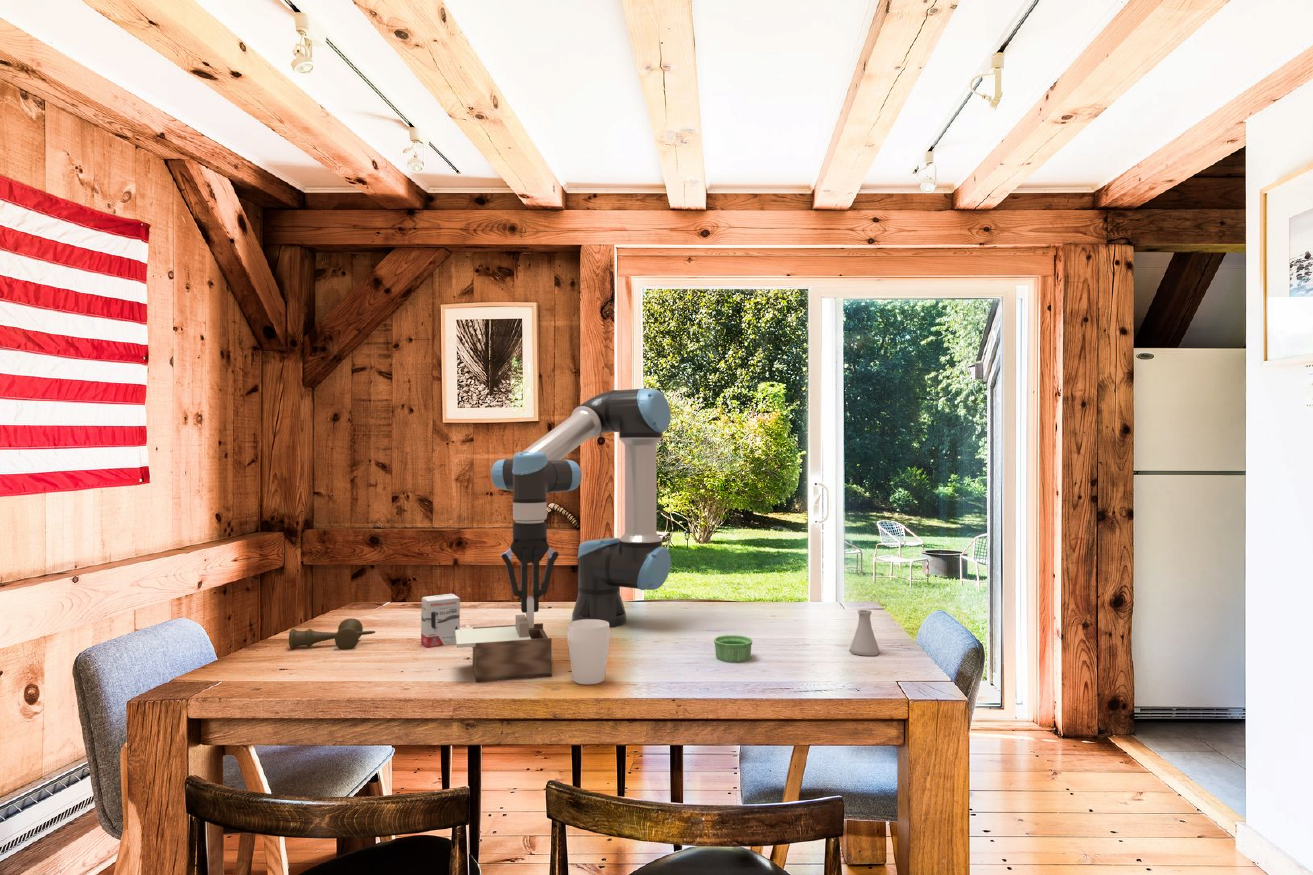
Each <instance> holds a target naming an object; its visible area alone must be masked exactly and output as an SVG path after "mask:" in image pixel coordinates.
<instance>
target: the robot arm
mask: <svg viewBox="0 0 1313 875" xmlns="http://www.w3.org/2000/svg"><path fill="white" fill-rule="evenodd" d="M671 417H672V414H671V408H670V405H669V402H668V400H667V398H666V396H665V395H664V393H663V392H661V391H660V390H658V389H654V388H634V389H633V388H632V389H631V388H630V389H620V390H619V389H612V390H607V391H604V392H601V393H599V394H597V395H595V396H593V397H590V398H589V399H588V400H586V401H584V402H582V403H581V404H579V405H578V406H577V407H576V408H574V409H573V410H572V412H571V415H570V417H568V418H567V419H565V420H564V421H563V422H561V423H560V424H558V425H557V426H556V427H554V428H552V430H550V431H549V432H548V433H546V434H545V435H542V437H540V438H539V439H537V440H536V441H535V442H533V443H532V444H531V445H529V446H528V447H526V448H525V449H524V450H522V451H520V452H516V453H515V454H514V455H513V457H512V458H510V459H509V458H503V459H499V460H496V461H495V462H494V464H493V465H492V467H491V471H490V478H491V482H492V484H493V486H494V487H496V488H497V489H499V490H504V491H510V492H512V520H514V521H515V522H513V523H512V543H511V544H510V546H509V547H510V548H509V549H508V550H506V551H505V552H501V554H500V558H502V560H503V562H504V563H505V566H506V570H507V571H506V572H507V574H508V579H509V583H510V587H511V590H512V594H513V596H514V597H518V598H520V610H521V613H523V614H525V617H526V619H527V621H528V623H529V628H534V624H535V613H538V612H539V610H540V608H539V606H540V604H539V603H540V602H539V601H540V600H539V599H540V597H542V596H543V595H544V596H545V595H547V593H548V589H549V585H550V581H551V578H552V577H551V576H552V574H553V568H554V565H555V562H556V560H557V559H558V557H559V554H560V553H559V552H558V551H557V550H555V549H552V548H551V547H550V545H549V542H548V540H547V539H548V535H547V534H548V533H547V532H548V531H547V529H548V526H547V525H548V524H547V523H546V521H545V520H547V519H548V518H547V517H548V514H547V513H548V510H547V509H548V508H547V507H548V506H547V505H548V503H547V502H548V501H547V498H548V497H547V496H548V495H547V494H548V493H567V492H570V491H574V490H576V489H577V488H578V487H579V486H580V484H581V482H582V477H583V476H582V469H581V467H580V466H579V464H578V463H577V462H576V461H574V460H571V459H563V458H565V457H566V456H568V455H569V454H570V453H572V452H573V451H575V449H577V448H578V447H579V446H580V445H582V444H583V443H584V442H585V441H587V440H588V439H589V440H591V439H594V438H597V437H598V436H600V435H601V434H606V433H618V436H619V437H618V438H619V440H620V441H621V442H622V443H623V444H624V534H622V536H620V538H618V537H607V538H600V539H591V540H585V541H583V542H581V543H580V544H579V546H578V554H577V566H578V567H577V569H578V570H577V576H578V578H577V579H578V586H577V588H578V589H577V590H578V593H577V598H576V601H575V604H574V607H573V609H572V610H573V611H572V614H571V622H572V621H576V620H584V619H597V620H604V621H607V622H609V628H611V627H617V626H620V625H624V624H626V622H627V611H626V609H625V605H624V602H623V600H622V595H621V588H627V589H635V590H636V589H637V590H641V591H645V590H647V591H655V590H658V589H659V588H661V587H662V586H663V585H664V583H665V582H666V580H667V579H668V577H669V575H670V571H671V570H670V569H671V567H672V565H671V564H672V563H671V562H672V561H671V560H672V559H671V553H670V551H669V550H668V548H666V547H664V546H663V539H662V537H661V536H660V535H659V534H658V533H657V445H658V443H660V441H661V440H662V439H663V433H664V432H666V431H667V430H668V429H669V427H670V424H671V419H672V418H671ZM546 553H547V554H546ZM513 555H514V556H515V557H516V559H517V560H518V562H519V563H520V589H519V587H518V582H517V580H516V575H515V571H514V570H515V569H514V567H513V563H512V559H513ZM545 555H546V557H547V558H548V559H547V560H546V564H545V565H546V566H545V569H544V573H543V577H542V582H541V585H540V562H541V561H542V559H543V558H544V556H545ZM530 563H531V565H532V566H531V574H532V575H531V579H532V580H531V582H532V583H531V585H532V586H531V587H532V588H531V589H532V590H531V592H532V596H528V566H529V564H530Z"/></svg>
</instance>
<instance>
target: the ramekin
mask: <svg viewBox="0 0 1313 875" xmlns="http://www.w3.org/2000/svg"><path fill="white" fill-rule="evenodd" d="M713 642H714V646H715V647H714V648H715V649H714V651H715V657H716V659H717V660H719V661H721V662H723V663H725V662H726V663H743V662H744V663H745V662H748V661H749V660H751V657H752V656H751V655H752V654H751V653H752V645H753V639H752V638H751V637H748V636H746V635H745V636H743V635H736V634H733V635H731V634H729V635H728V634H727V635H720V636H717V637H714V639H713Z"/></svg>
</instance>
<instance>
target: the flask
mask: <svg viewBox="0 0 1313 875" xmlns="http://www.w3.org/2000/svg"><path fill="white" fill-rule="evenodd" d="M857 614H858V624H857V628H856V631H855V634H854V637H853V639H852V641H851V645H850V647H849V652H850V653H851V654H853V655H859V656H866V657H867V656H874V657H876V656H878V655H879V654H881V651H880V648H879V645H878V642H877V640H876V637H875V634H874V630H873V628H872V622H871V621H872V620H871V615H872V611H871V610H869V609H858V610H857Z"/></svg>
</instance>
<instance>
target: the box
mask: <svg viewBox="0 0 1313 875" xmlns="http://www.w3.org/2000/svg"><path fill="white" fill-rule="evenodd" d="M510 626H516V624H509V625H507V624H505V625H491V626H475V627H474V626H473V627H472V629H477V628H494V627H510ZM529 636H530V638H531V639H526V640H511V641H496V642H481V643H476V647H472V667H473V675H474V680H475V683H486V682H487V683H488V682H498V680H499V681H509V680H522V679H535V678H536V679H537V678H547V677H549V678H550V677H552V674H553V672H552V670H553V669H552V663H553V662H552V648H553V647H552V646H553V645H552V642H553V641H552V637H548V635H547V633H546V632H545V630H544V623H543V622H542V623H539V622H538V623H534V628H529Z"/></svg>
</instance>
